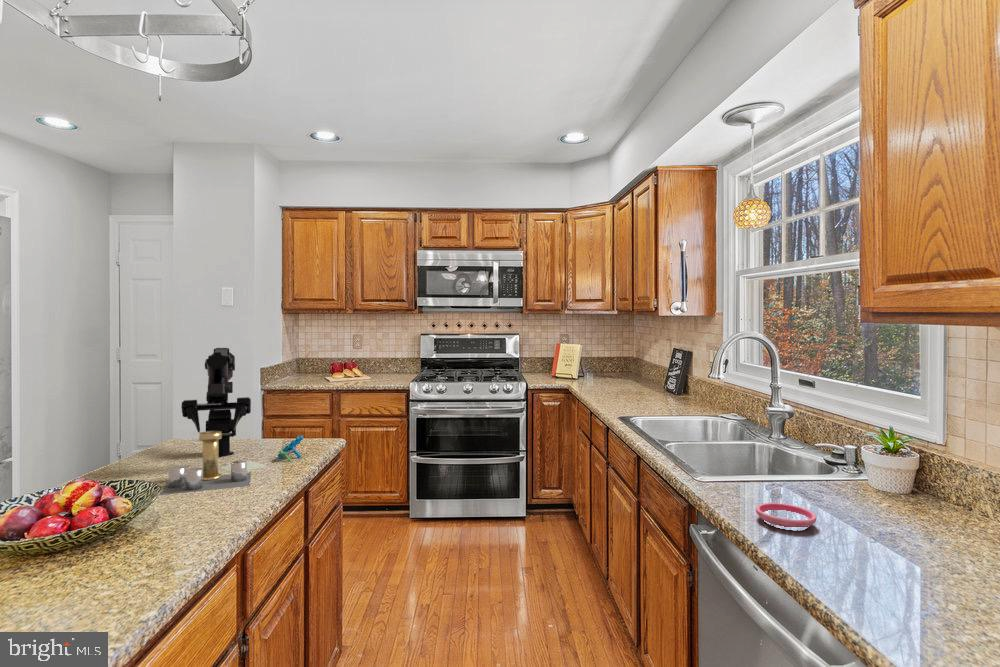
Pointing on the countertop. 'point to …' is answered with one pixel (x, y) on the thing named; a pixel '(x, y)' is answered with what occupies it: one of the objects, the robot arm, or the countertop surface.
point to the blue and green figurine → (290, 448)
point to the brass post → (210, 454)
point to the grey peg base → (194, 482)
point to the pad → (250, 466)
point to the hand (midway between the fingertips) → (216, 430)
